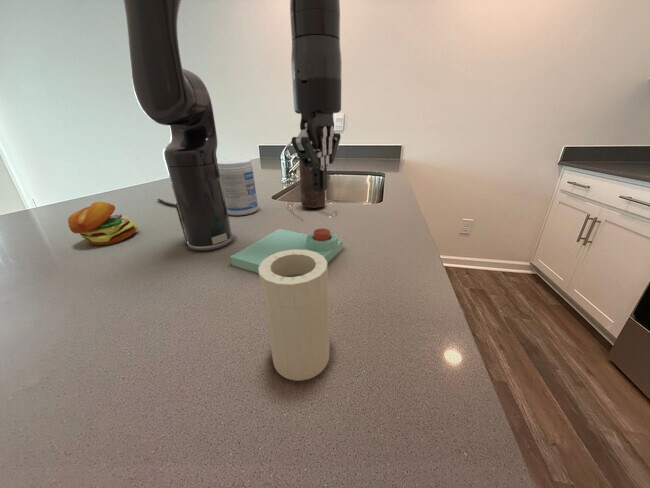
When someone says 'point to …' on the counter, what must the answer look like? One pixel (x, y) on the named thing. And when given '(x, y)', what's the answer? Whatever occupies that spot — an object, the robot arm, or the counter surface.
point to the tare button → (321, 234)
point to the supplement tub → (238, 186)
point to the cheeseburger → (101, 224)
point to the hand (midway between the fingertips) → (319, 190)
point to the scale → (284, 248)
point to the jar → (297, 311)
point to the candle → (309, 189)
